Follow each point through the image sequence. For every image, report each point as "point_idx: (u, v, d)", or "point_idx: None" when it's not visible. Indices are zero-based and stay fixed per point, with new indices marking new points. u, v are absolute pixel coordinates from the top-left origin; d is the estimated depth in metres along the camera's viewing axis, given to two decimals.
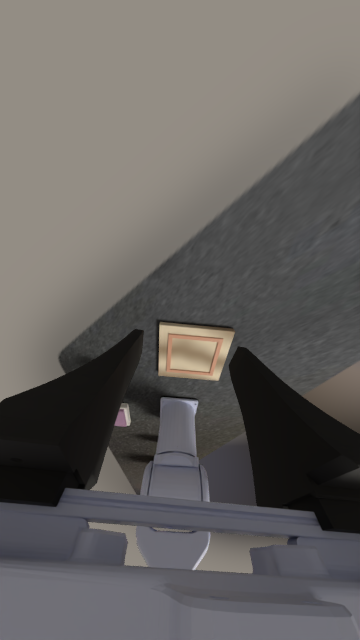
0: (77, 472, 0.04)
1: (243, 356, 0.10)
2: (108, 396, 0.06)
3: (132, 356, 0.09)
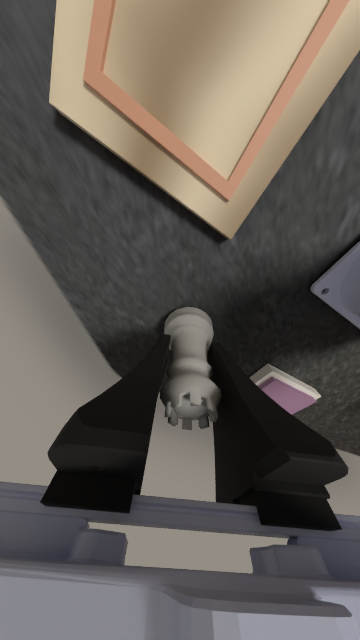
0: (140, 479, 0.05)
1: (215, 351, 0.10)
2: None
3: (165, 361, 0.09)
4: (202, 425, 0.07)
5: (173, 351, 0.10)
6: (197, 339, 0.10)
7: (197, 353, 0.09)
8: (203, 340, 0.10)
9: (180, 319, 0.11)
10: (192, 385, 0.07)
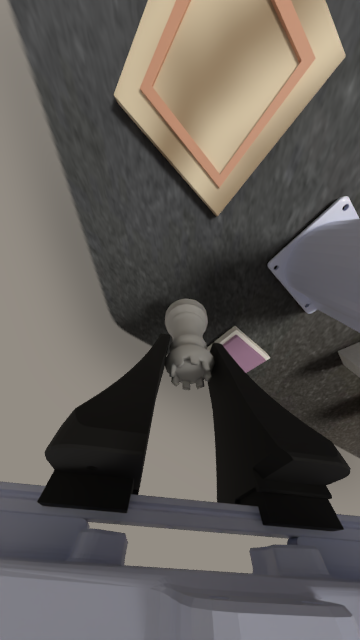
0: (138, 478, 0.05)
1: (216, 351, 0.10)
2: (154, 402, 0.06)
3: (164, 361, 0.09)
4: (198, 384, 0.09)
5: (174, 332, 0.12)
6: (195, 323, 0.12)
7: (195, 333, 0.11)
8: (199, 325, 0.12)
9: (180, 307, 0.13)
10: (192, 350, 0.09)
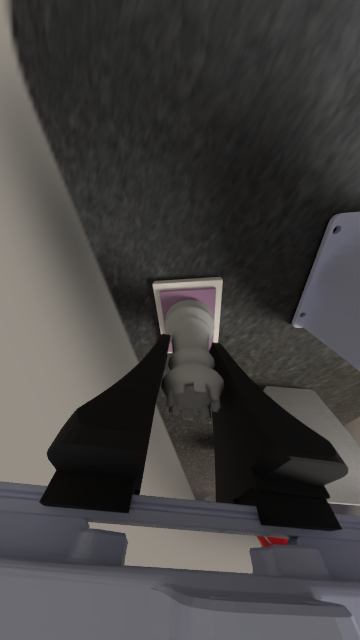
0: (140, 478, 0.05)
1: (215, 351, 0.10)
2: None
3: (164, 361, 0.09)
4: (204, 415, 0.07)
5: (174, 342, 0.10)
6: (200, 331, 0.10)
7: (199, 344, 0.09)
8: (205, 332, 0.10)
9: (182, 311, 0.11)
10: (196, 373, 0.07)
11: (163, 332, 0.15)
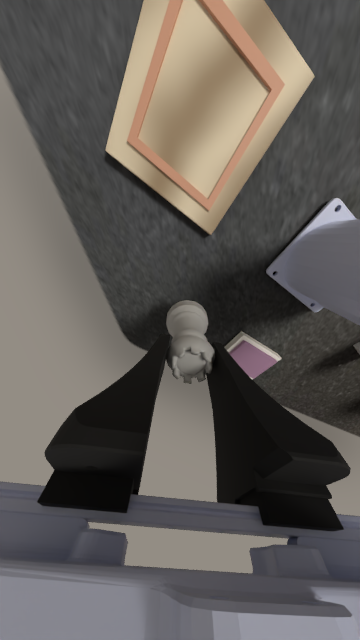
0: (138, 478, 0.05)
1: (216, 352, 0.10)
2: (154, 402, 0.06)
3: (163, 361, 0.09)
4: (200, 377, 0.09)
5: (175, 330, 0.12)
6: (195, 321, 0.12)
7: (195, 329, 0.11)
8: (200, 323, 0.13)
9: (181, 308, 0.14)
10: (193, 342, 0.09)
11: None
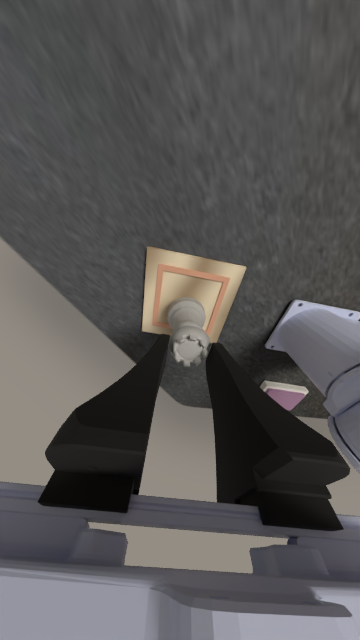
0: (138, 478, 0.05)
1: (215, 351, 0.10)
2: None
3: (164, 361, 0.09)
4: (197, 361, 0.10)
5: (176, 323, 0.14)
6: (194, 315, 0.14)
7: (194, 321, 0.13)
8: (198, 317, 0.14)
9: (181, 303, 0.15)
10: (191, 330, 0.10)
11: None
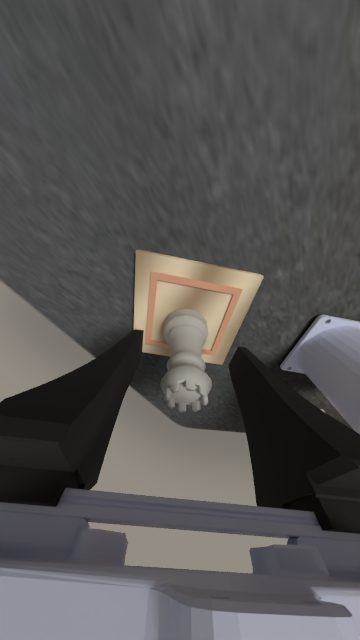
0: (77, 472, 0.04)
1: (243, 356, 0.10)
2: (108, 396, 0.06)
3: (132, 356, 0.09)
4: (195, 408, 0.09)
5: (172, 347, 0.11)
6: (193, 337, 0.12)
7: (193, 349, 0.10)
8: (198, 339, 0.12)
9: (179, 319, 0.13)
10: (188, 374, 0.08)
11: None
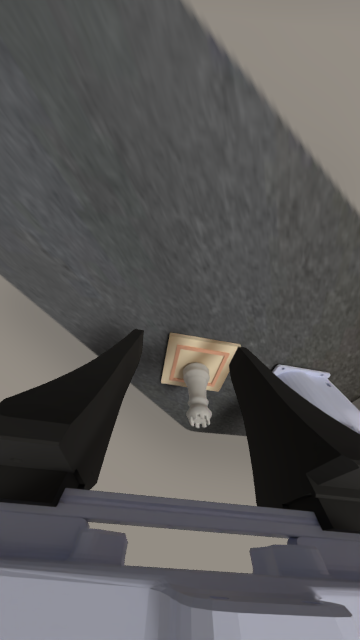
0: (77, 472, 0.04)
1: (243, 356, 0.10)
2: (108, 396, 0.06)
3: (132, 356, 0.09)
4: (203, 426, 0.18)
5: (190, 390, 0.21)
6: (202, 384, 0.21)
7: (202, 393, 0.20)
8: (204, 384, 0.21)
9: (193, 371, 0.22)
10: (200, 410, 0.17)
11: None
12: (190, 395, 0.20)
